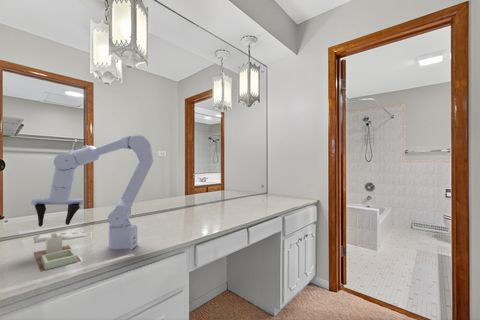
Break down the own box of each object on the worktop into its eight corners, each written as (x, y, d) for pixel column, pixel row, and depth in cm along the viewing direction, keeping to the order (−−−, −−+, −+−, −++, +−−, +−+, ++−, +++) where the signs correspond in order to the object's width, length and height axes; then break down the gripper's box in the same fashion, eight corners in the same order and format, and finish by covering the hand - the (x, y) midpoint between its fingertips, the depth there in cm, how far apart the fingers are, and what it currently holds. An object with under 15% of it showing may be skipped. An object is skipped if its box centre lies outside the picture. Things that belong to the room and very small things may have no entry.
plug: (61, 251, 81) (62, 234, 81) (47, 255, 78) (47, 236, 78) (59, 248, 84) (60, 231, 84) (45, 251, 81) (45, 234, 81)
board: (81, 264, 74) (81, 261, 74) (40, 275, 67) (40, 271, 67) (68, 247, 88) (68, 245, 88) (33, 255, 80) (33, 252, 80)
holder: (77, 261, 74) (77, 255, 74) (45, 269, 68) (45, 263, 68) (72, 254, 79) (72, 248, 79) (41, 261, 73) (41, 255, 73)
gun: (35, 239, 87) (33, 233, 94) (34, 248, 87) (33, 241, 94) (91, 232, 99) (86, 227, 107) (90, 240, 99) (85, 235, 106)
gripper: (81, 186, 90) (74, 220, 90) (33, 183, 79) (24, 223, 79) (87, 189, 86) (80, 225, 85) (37, 187, 75) (28, 229, 74)
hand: (54, 224), depth 82 cm, fingers open, 7 cm apart
